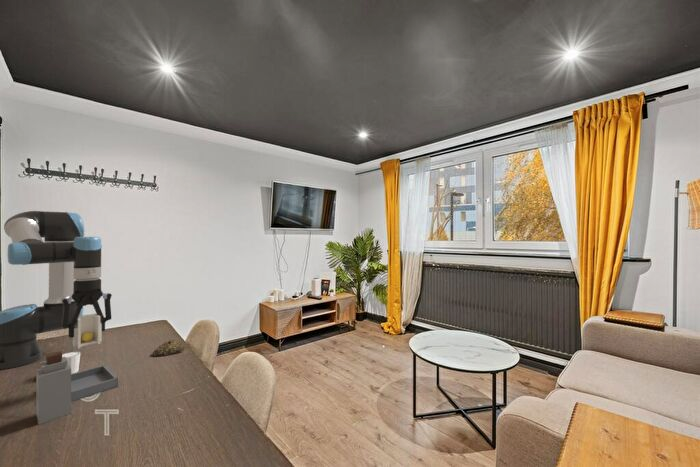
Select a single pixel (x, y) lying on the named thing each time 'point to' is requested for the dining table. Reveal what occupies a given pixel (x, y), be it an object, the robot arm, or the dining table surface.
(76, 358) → the shot glass
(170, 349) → the bread roll
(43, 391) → the perfume bottle
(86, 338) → the ball
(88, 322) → the white u-shaped stool
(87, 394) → the tray
